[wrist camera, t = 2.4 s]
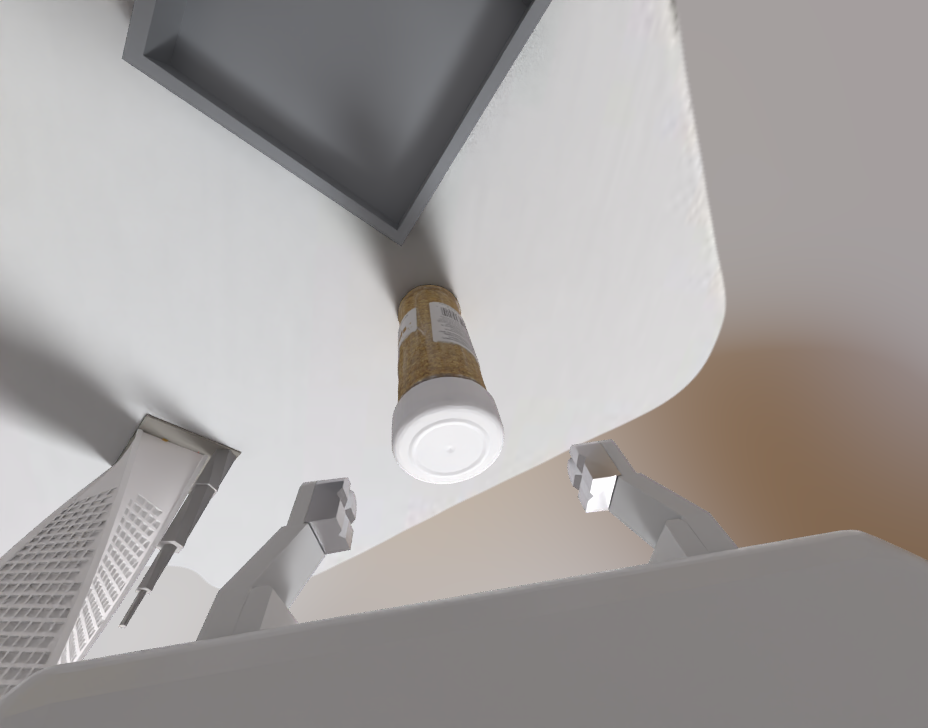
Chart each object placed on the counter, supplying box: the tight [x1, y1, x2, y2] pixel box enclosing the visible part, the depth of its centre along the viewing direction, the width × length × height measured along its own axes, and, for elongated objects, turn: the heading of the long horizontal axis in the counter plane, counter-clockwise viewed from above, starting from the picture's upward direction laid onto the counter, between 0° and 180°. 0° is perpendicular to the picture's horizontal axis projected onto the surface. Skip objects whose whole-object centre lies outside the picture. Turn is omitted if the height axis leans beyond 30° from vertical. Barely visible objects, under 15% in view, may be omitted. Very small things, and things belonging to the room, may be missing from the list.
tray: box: [122, 0, 552, 246], centre depth 15 cm, size 13×13×2 cm
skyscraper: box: [0, 414, 241, 698], centre depth 17 cm, size 8×8×28 cm
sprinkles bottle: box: [392, 285, 504, 484], centre depth 19 cm, size 5×5×14 cm
